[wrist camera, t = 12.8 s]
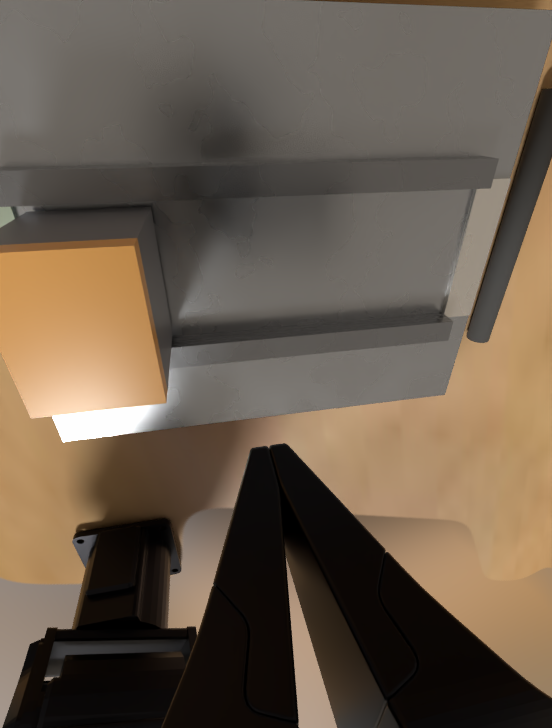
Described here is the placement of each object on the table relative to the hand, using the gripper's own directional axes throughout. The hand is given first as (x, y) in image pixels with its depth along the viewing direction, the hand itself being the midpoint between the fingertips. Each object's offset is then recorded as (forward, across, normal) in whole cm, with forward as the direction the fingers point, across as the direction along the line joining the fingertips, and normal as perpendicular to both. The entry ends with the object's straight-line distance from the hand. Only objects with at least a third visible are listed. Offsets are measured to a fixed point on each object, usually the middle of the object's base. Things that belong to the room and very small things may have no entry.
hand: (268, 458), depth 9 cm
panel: (+12, -1, -2) cm, 12 cm away
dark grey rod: (+12, -14, -1) cm, 19 cm away
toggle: (+8, +5, -2) cm, 10 cm away
